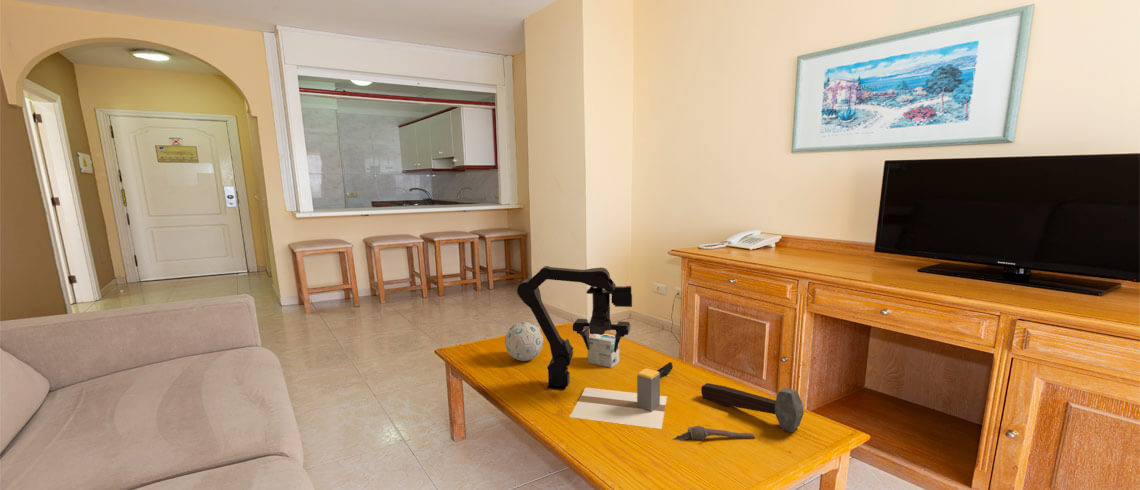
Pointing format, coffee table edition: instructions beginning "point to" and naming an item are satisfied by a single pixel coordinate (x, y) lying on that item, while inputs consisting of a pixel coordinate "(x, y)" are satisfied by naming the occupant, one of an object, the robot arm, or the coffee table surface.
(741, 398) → the hammer
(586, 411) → the board
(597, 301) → the robot arm
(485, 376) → the coffee table surface
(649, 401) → the yellow-topped grey block
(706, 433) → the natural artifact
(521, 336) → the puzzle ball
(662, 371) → the electric trimmer
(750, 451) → the coffee table surface
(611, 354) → the light bulb box
